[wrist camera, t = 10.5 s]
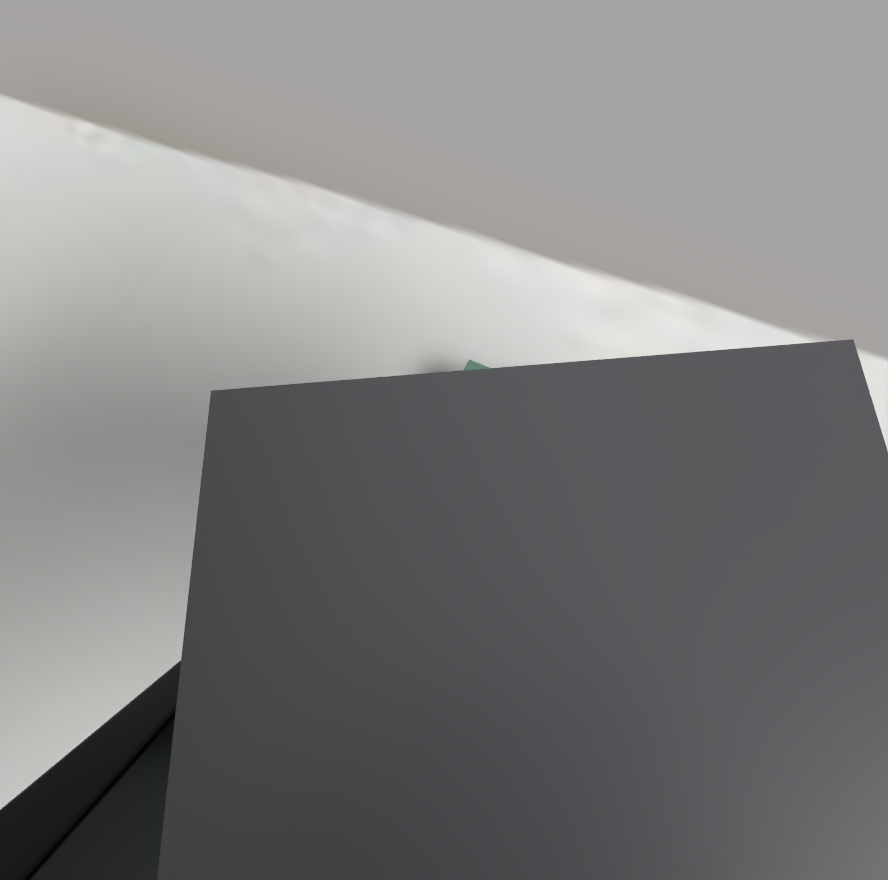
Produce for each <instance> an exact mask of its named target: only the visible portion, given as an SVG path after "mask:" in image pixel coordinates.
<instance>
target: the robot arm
mask: <svg viewBox="0 0 888 880" xmlns="http://www.w3.org/2000/svg"><path fill="white" fill-rule="evenodd" d="M180 668H181V661H179V662H178V663H177V664H176V665H175V666H173V667H172V668H171V669H170V670H169V671H167V672H166V673H165V674H164V675H163V676H161V677H160V678H159V679H158V680H157V681H155V682H154V683H153V684H152V685H150V686H149V687H148V688H147V689H146V690H144V691H143V692H142V693H141V694H140V695H138V696H137V697H136V698H135V699H134V700H132V701H131V702H130V703H129V704H128V705H126V706H125V707H124V708H123V709H121V710H120V711H119V712H118V713H117V714H115V715H114V716H113V717H112V718H111V719H109V720H108V721H107V722H106V723H105V724H103V725H102V726H101V727H100V728H99V729H97V730H96V731H95V732H94V733H92V734H91V735H90V736H89V737H88V738H86V739H85V740H84V741H83V742H82V743H80V744H79V745H78V746H77V747H76V748H74V749H73V750H72V751H71V752H70V753H68V754H67V755H66V756H65V757H63V758H62V759H61V760H60V761H59V762H57V763H56V764H55V765H54V766H53V767H51V768H50V769H49V770H48V771H47V772H45V773H44V774H43V775H42V776H41V777H39V778H38V779H37V780H36V781H34V782H33V783H32V784H31V785H30V786H28V787H27V788H26V789H25V790H24V791H22V792H21V793H20V794H19V795H18V796H16V797H15V798H14V799H13V800H11V801H10V802H9V803H8V804H7V805H5V806H4V807H3V808H2V809H1V810H0V880H157V875H158V866H159V857H160V848H161V839H162V830H163V821H164V812H165V803H166V794H167V785H168V776H169V767H170V758H171V749H172V740H173V731H174V722H175V713H176V704H177V695H178V686H179V677H180Z"/></svg>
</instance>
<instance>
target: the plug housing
mask: <svg viewBox="0 0 888 880" xmlns="http://www.w3.org/2000/svg"><path fill="white" fill-rule="evenodd" d="M157 880H888V451H887V448H886V445H885V441H884V438H883V435H882V432H881V428H880V425H879V422H878V419H877V415H876V412H875V409H874V406H873V402H872V399H871V396H870V393H869V389H868V386H867V383H866V379H865V376H864V373H863V370H862V366H861V363H860V360H859V357H858V353H857V350H856V347H855V344H854V341H853V340H841V341H828V342H816V343H803V344H791V345H778V346H766V347H753V348H741V349H728V350H716V351H703V352H691V353H678V354H666V355H653V356H641V357H628V358H616V359H603V360H591V361H578V362H566V363H553V364H541V365H528V366H516V367H503V368H491V369H478V370H465V371H453V372H440V373H428V374H415V375H403V376H390V377H378V378H365V379H353V380H340V381H328V382H315V383H303V384H290V385H278V386H265V387H253V388H240V389H228V390H215V391H211V397H210V406H209V415H208V424H207V433H206V442H205V452H204V461H203V470H202V479H201V488H200V497H199V506H198V515H197V524H196V533H195V542H194V551H193V560H192V569H191V578H190V587H189V596H188V605H187V614H186V623H185V632H184V641H183V650H182V659H181V668H180V677H179V686H178V695H177V704H176V713H175V722H174V731H173V740H172V749H171V758H170V767H169V776H168V785H167V794H166V803H165V812H164V821H163V830H162V839H161V848H160V857H159V866H158V875H157Z"/></svg>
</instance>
